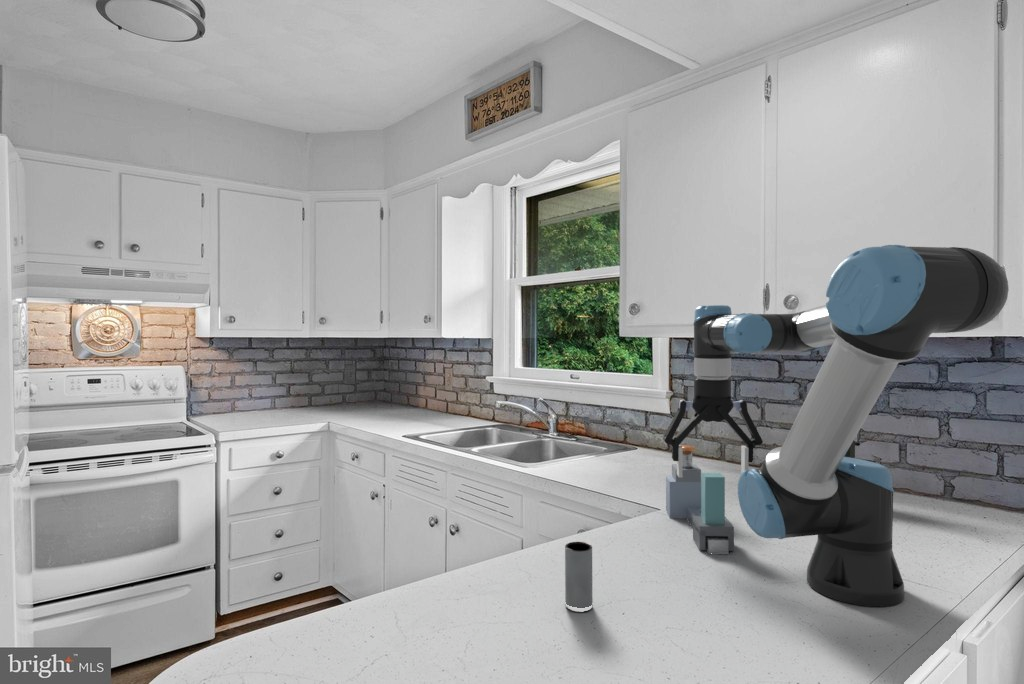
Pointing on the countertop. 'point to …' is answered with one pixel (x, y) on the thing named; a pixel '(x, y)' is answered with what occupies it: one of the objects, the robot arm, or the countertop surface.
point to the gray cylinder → (578, 574)
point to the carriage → (712, 512)
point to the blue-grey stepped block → (683, 491)
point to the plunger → (687, 456)
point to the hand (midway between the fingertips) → (711, 476)
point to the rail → (711, 542)
